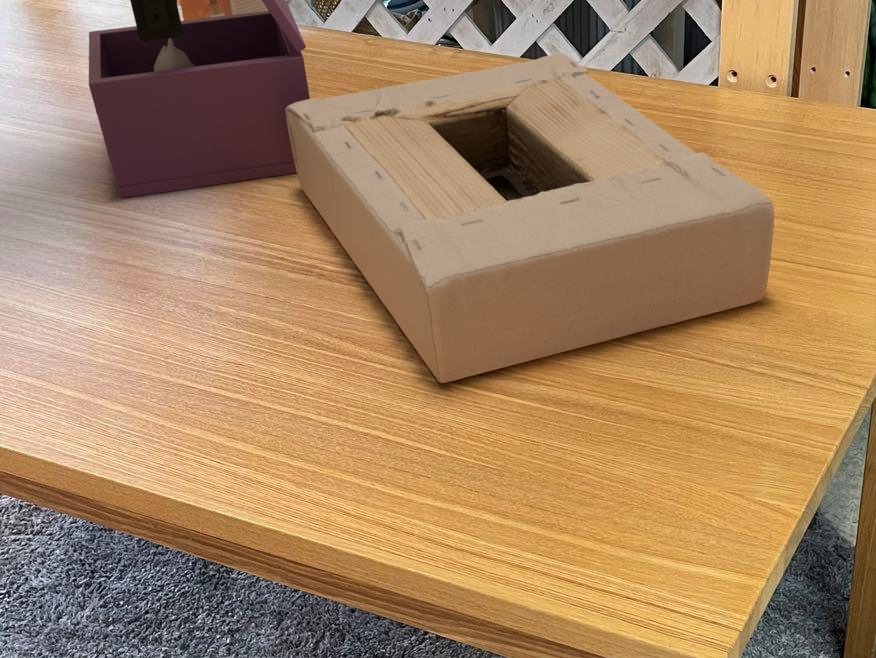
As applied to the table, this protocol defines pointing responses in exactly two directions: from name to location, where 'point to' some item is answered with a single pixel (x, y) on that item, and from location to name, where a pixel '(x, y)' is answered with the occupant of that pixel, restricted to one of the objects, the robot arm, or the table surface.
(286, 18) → the lid
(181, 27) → the robot arm
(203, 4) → the small box
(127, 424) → the table surface
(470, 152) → the box
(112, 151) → the box
